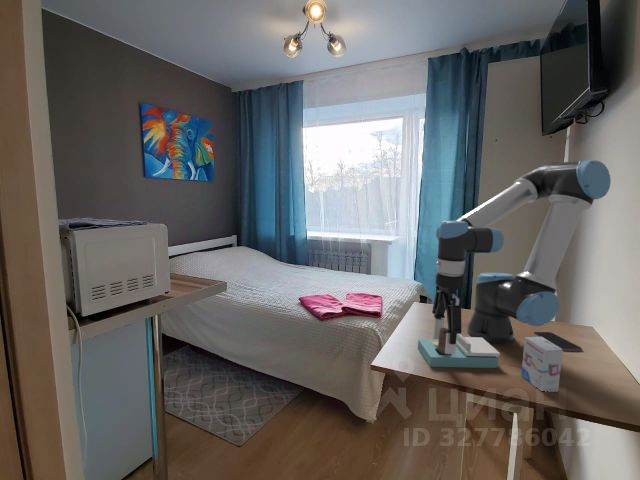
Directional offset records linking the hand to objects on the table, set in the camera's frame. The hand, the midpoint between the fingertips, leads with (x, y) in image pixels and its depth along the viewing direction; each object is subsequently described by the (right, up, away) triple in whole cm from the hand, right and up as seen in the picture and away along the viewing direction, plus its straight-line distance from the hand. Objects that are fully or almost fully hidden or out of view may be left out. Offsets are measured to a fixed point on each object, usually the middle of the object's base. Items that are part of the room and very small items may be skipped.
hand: (443, 345), depth 103 cm
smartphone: (+46, -5, +18) cm, 50 cm away
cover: (+11, -1, +3) cm, 11 cm away
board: (+5, -5, +3) cm, 8 cm away
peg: (0, -5, +1) cm, 5 cm away
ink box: (+22, -7, -10) cm, 26 cm away
